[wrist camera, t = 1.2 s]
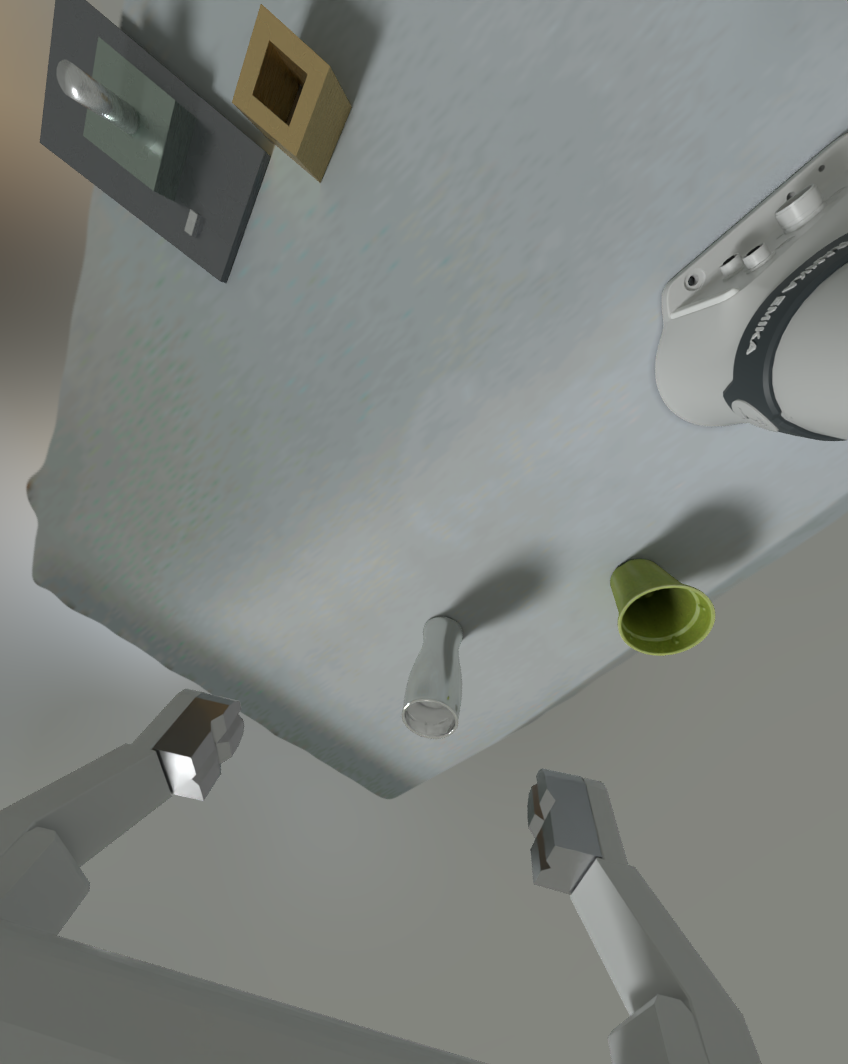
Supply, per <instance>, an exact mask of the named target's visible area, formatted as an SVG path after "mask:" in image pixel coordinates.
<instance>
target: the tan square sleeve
mask: <svg viewBox="0 0 848 1064" xmlns="http://www.w3.org/2000/svg"><path fill="white" fill-rule="evenodd" d="M299 85H300V86H301V87H303V89H302V92H301V95H300V97H299V100H298V103H297V106H296V109H295V111H294V114H293V117H292V120H291V122H290V125H289V126H288V125H287V124H286V122H287V119H288V116H289V114H290V111H291V108H292V105H293V102H294V99H295V97H296V94H297V91H298V88H299ZM232 103H233V104H234V105H235V106H236V107H237V108H238V109H239V110H240V111H241V112H242V113H243V114H244V115H245V116H246V117H247V118H248V119H249V120H250V121H251V122H252V123H253V124H254V125H255V126H256V127H257V128H258V129H259V130H260V131H261V132H262V133H263V134H264V135H265V136H266V137H267V138H268V139H269V140H270V141H272V142H273V143H274V144H275V145H276V146H277V147H279V148H280V149H281V150H282V151H283V152H284V153H286V154H287V155H288V156H289V157H290V158H292V159H293V160H294V161H295V162H296V163H297V164H299V165H300V166H301V167H302V168H303V169H305V170H306V171H307V172H308V173H309V174H310V175H312V176H313V177H314V178H315V179H316V180H317V181H319V182H320V183H321V180H322V178H323V176H324V173H325V171H326V168H327V166H328V163H329V161H330V159H331V156H332V154H333V151H334V149H335V147H336V144H337V142H338V139H339V137H340V134H341V132H342V130H343V127H344V125H345V122H346V120H347V118H348V115H349V113H350V110H351V108H352V107H351V105H350V103H349V101H348V99H347V97H346V95H345V94H344V92H343V90H342V88H341V86H340V84H339V82H338V80H337V78H336V77H335V75H334V73H333V71H332V69H331V67H330V66H329V65H328V64H327V63H326V62H325V61H324V60H323V59H322V58H320V57H319V56H318V55H317V54H316V53H315V52H314V51H313V50H312V49H311V48H309V47H308V46H307V45H306V44H305V43H304V42H303V41H302V40H301V39H299V38H298V37H297V36H296V35H295V34H294V33H293V32H292V31H291V30H290V29H288V28H287V27H286V26H285V25H284V24H283V23H282V22H281V21H280V20H279V19H277V18H276V17H275V16H274V15H273V14H272V13H271V12H270V11H269V10H267V9H266V8H265V7H264V6H263V5H262V4H261V5H260V9H259V12H258V16H257V19H256V22H255V26H254V29H253V32H252V36H251V39H250V43H249V46H248V49H247V53H246V56H245V60H244V63H243V66H242V70H241V73H240V77H239V80H238V83H237V87H236V90H235V94H234V97H233V100H232Z"/></svg>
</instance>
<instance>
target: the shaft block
mask: <svg viewBox="0 0 848 1064" xmlns="http://www.w3.org/2000/svg"><path fill="white" fill-rule="evenodd" d="M40 143H41V144H42V145H44V146H45V147H46V148H47V149H49V150H50V151H52V152H53V153H54V154H55V155H57V156H58V157H59V158H61V159H62V160H63V161H64V162H66V163H67V164H68V165H70V166H71V167H72V168H74V169H75V170H76V171H78V172H79V173H80V174H81V175H83V176H84V177H85V178H86V179H88V180H89V181H90V182H92V183H93V184H94V185H96V186H97V187H98V188H99V189H101V190H102V191H103V192H105V193H106V194H107V195H109V196H110V197H111V198H113V199H114V200H115V201H116V202H118V203H119V204H120V205H122V206H123V207H124V208H126V209H127V210H128V211H129V212H131V213H132V214H133V215H135V216H136V217H137V218H139V219H140V220H141V221H142V222H144V223H145V224H146V225H148V226H149V227H150V228H152V229H153V230H154V231H155V232H157V233H158V234H159V235H161V236H162V237H163V238H165V239H166V240H167V241H168V242H170V243H171V244H172V245H174V246H175V247H176V248H178V249H179V250H180V251H181V252H183V253H184V254H185V255H187V256H188V257H189V258H191V259H192V260H193V261H194V262H196V263H197V264H198V265H200V266H201V267H202V268H204V269H205V270H206V271H207V272H209V273H210V274H211V275H213V276H214V277H215V278H217V279H218V280H219V281H221V282H224V283H226V282H227V279H228V277H229V274H230V271H231V268H232V265H233V262H234V259H235V257H236V254H237V251H238V248H239V245H240V242H241V240H242V237H243V234H244V231H245V228H246V225H247V222H248V220H249V217H250V214H251V211H252V208H253V205H254V202H255V200H256V197H257V194H258V191H259V188H260V185H261V183H262V180H263V177H264V174H265V171H266V168H267V165H268V163H269V160H270V156H269V155H268V154H267V153H266V152H265V151H264V150H263V149H262V148H260V147H259V146H258V145H257V144H256V143H255V142H253V141H252V140H251V139H250V138H249V137H247V136H246V135H245V134H244V133H243V132H241V131H240V130H239V129H238V128H237V127H235V126H234V125H233V124H232V123H231V122H230V121H228V120H227V119H226V118H225V117H224V116H222V115H221V114H220V113H219V112H218V111H216V110H215V109H214V108H213V107H212V106H211V105H209V104H208V103H207V102H206V101H205V100H203V99H202V98H201V97H200V96H199V95H197V94H196V93H195V92H194V91H193V90H192V89H190V88H189V87H188V86H187V85H186V84H184V83H183V82H182V81H181V80H180V79H178V78H177V77H176V76H175V75H174V74H173V73H171V72H170V71H169V70H168V69H167V68H165V67H164V66H163V65H162V64H161V63H159V62H158V61H157V60H156V59H155V58H154V57H152V56H151V55H150V54H149V53H148V52H146V51H145V50H144V49H143V48H142V47H140V46H139V45H138V44H137V43H136V42H135V41H133V40H132V39H131V38H130V37H129V36H127V35H126V34H125V33H124V32H123V31H121V30H120V29H119V28H118V27H117V26H116V25H114V24H113V23H112V22H111V21H110V20H108V19H107V18H106V17H105V16H103V15H102V14H101V13H100V12H99V11H98V10H97V9H95V8H94V7H93V6H92V5H91V4H89V3H88V2H87V1H86V0H56V1H55V10H54V19H53V28H52V37H51V47H50V55H49V64H48V73H47V82H46V92H45V100H44V109H43V118H42V127H41V136H40Z"/></svg>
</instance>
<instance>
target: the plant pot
mask: <svg viewBox="0 0 848 1064" xmlns="http://www.w3.org/2000/svg"><path fill="white" fill-rule="evenodd" d="M610 585H611V588H612V592H613V595H614V598H615V601H616V605H617V608H618V612H619V617H618V630H619V633H620V636H621V637H622V639H623V640H624V642H625V643H626V644H627V645H628V646H630V647H631V648H633V649H635V650H636V651H639V652H641V653H645V654H649V655H659V656H661V655H662V656H663V655H672V654H677V653H680V652H683V651H686V650H688V649H690V648H692V647H694V646H696V645H697V644H699V643H700V642H701V641H702V640H703V639H705V637H706V636H707V635H708V634H709V633H710V631H711V629H712V627H713V625H714V622H715V609H714V606H713V604H712V602H711V600H710V599H709V598H708V597H707V596H706V595H705V594H704V593H703V592H701V591H700V590H698V589H696V588H694V587H691V586H688V585H685V584H682V583H680V582H679V581H678V580H676V579H675V578H674V577H672V576H671V575H670V574H668V573H667V572H666V571H665V570H663V569H662V568H661V567H659V566H658V565H657V564H655V563H654V562H652V561H649V560H646V559H634V560H630V561H627V562H626V563H625V564H623V565H622V566H620V567H618V568H616V569H615V571H614V572H613V574H612V576H611V580H610Z"/></svg>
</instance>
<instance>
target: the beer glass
mask: <svg viewBox="0 0 848 1064" xmlns="http://www.w3.org/2000/svg"><path fill="white" fill-rule="evenodd" d="M462 639H463V630H462V628H461V626H460V625H459V624H458V623H457V622H456V621H455V620H453V619H451V618H448V617H434V618H432V619H430V620H428V621H427V622H426V624H425V625H424V628H423V645H422V648H421V650H420V652H419V654H418V656H417V658H416V661H415V663H414V665H413V667H412V670H411V672H410V675H409V678H408V682H407V686H406V691H405V697H404V704H403V710H402V720H403V722H404V724H405V725H406V727H407V728H408V729H409V730H410V731H412V732H413V733H415V734H417V735H419V736H422V737H425V738H430V739H440V738H445V737H447V736H449V735H451V734H452V733H454V732H455V730H456V729H457V726H458V719H459V713H460V707H461V700H462V674H461V666H460V660H459V647H460V644H461V642H462Z"/></svg>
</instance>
